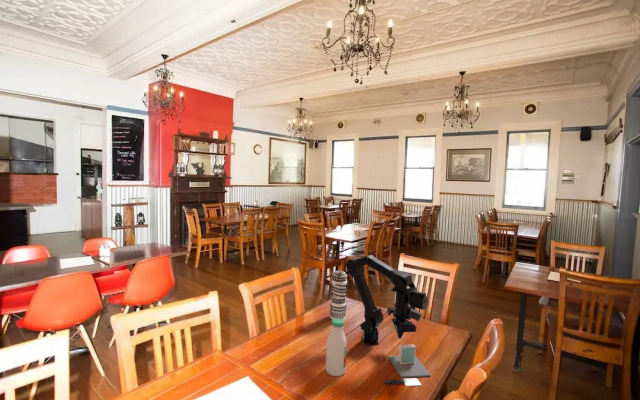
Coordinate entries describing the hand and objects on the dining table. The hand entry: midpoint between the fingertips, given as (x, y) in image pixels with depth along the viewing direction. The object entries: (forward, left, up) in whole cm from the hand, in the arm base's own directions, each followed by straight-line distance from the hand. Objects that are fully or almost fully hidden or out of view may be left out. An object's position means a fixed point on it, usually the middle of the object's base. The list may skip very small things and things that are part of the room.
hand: (399, 338), depth 141 cm
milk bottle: (-30, -11, -7) cm, 33 cm away
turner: (-6, -20, -7) cm, 22 cm away
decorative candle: (-20, +37, -7) cm, 43 cm away
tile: (0, -8, -6) cm, 10 cm away
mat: (0, -10, -7) cm, 12 cm away
